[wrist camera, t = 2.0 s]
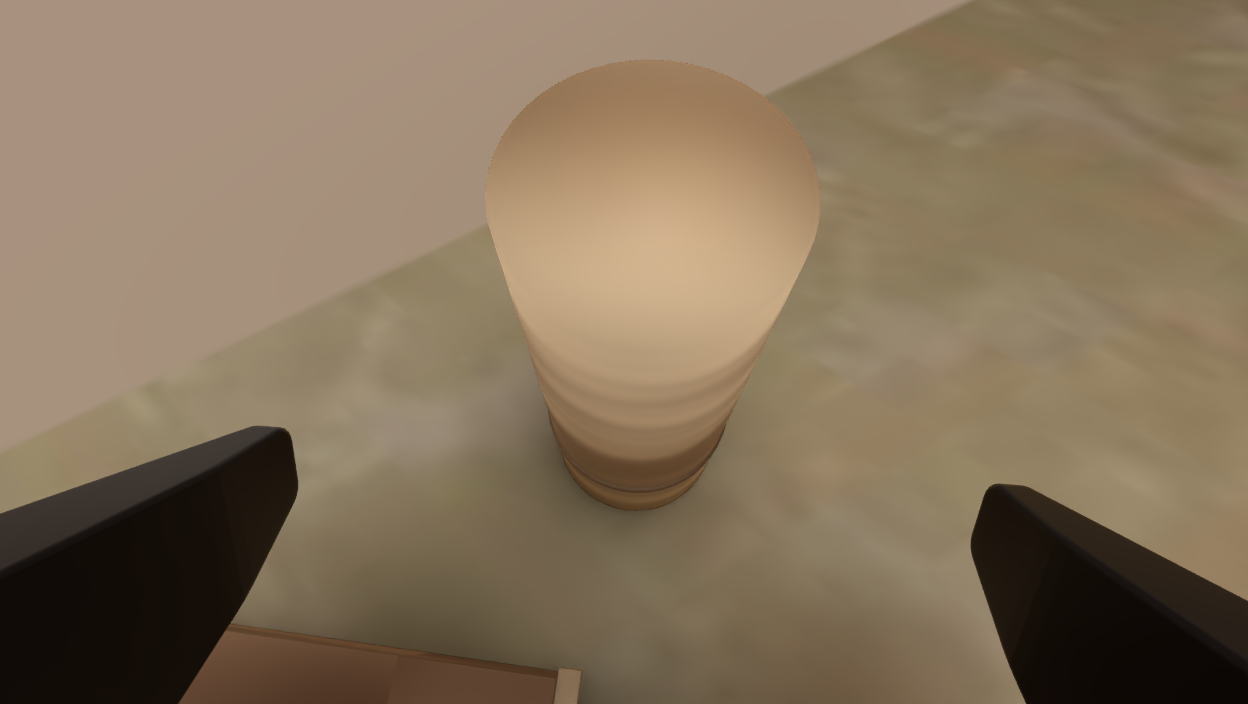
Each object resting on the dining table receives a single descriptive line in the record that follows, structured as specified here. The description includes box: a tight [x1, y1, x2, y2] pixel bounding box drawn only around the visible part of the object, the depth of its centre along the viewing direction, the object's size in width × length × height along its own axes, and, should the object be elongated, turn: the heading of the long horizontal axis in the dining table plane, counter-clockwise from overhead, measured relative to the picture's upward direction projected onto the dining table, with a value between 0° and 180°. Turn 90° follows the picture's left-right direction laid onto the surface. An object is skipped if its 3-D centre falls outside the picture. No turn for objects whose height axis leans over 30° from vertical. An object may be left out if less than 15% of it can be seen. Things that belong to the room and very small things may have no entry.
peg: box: [485, 60, 820, 511], centre depth 15 cm, size 4×4×12 cm
